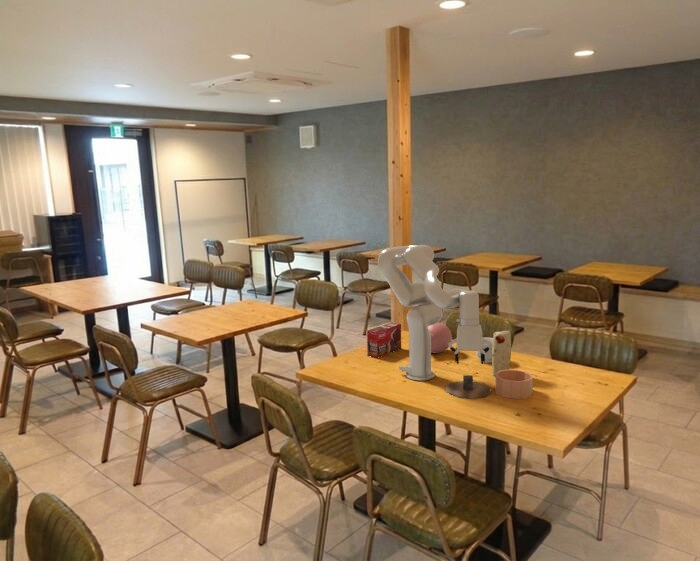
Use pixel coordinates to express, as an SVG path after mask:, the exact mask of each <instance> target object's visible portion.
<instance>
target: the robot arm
mask: <svg viewBox="0 0 700 561" xmlns="http://www.w3.org/2000/svg"><path fill="white" fill-rule="evenodd" d="M434 258H435V251H434V250H433V248H432V247H431V246H430V245H427V244H419V245H417V244H416V245H415V244H414V245H400V246H395V247H393V246H392V247H388V248H385V249H384V250H382V251H381V252H380V253H379V254H378V258H377V266H378V270H379V272H380V274H381V275H382V276H383V278H384V279H385V281H386V282H387V284H389V286H390V288H391V290H392V292H393V294H394V295H395V297H396V299H397V300H398V302H399V304H401V305H402V306H403V307H412V308H410V309H409V310H408V312H407V313H406V323H407V326H408V327H407V329H408V347H409V348H408V356H409V358H408V359H409V360H408V361H409V362H408V365H399V368H398V370H399V371H401V372H406V373H405V377H406V378H407V379H410V380H413V381H421V382H423V381H428V380H431V379H434V377H435V375H436V374H435V372H434V371H432V352H431V335H430V332H429V330H428V326H429V325H432V324H435V323H438V322H439V323H440V322H441V321H442V318H443V316H444V314H443V310H450V309H453V308H457V307H459V318H456V319H455V322H456V323H459V324H458V325H457V329H456V338H454V339H452V341H450V342H448V346H449V347H448V349H449V350H450V351H452V353H454V362H456V365H458V364H459V361H460V359H459V358H460V356H459V352H460V351H464V352H465V351H466V352H467V351H471V352H472V351H475V352H476V351H478V350H480V351H481V361H480V364H481V365H484V362H483V361H485V354H486V352H487V351H488V350H489V349H490V347H491V345H492V343H491V342H489V341H487V340H485V339H483V328H482V325H481V324H480V311H479V310H480V309H479V308H480V307H479V306H480V305H479V304H480V303H479V302H480V301H479V300H480V299H479V298H480V297H479V292H478V291H476V290H471V289H470V290H467V289H464V288H463V289H462V288H459V287H454V288H451V289H445V290H444V289H443V288H442V287H441V286H440V284H438V282H437V280H436V277H438V275H439V272H440V268H439V266H438V265H437V264H436V263H435V262H434V261H433V260H434ZM404 265H408V267H410V268H411V270H413V272H414V273H415V274H416V275H417V276H418V277H419V278H420V279H421V280H422V281H423V282H415V283H412V282H411V281H410V279H409V278H408V276H407V275H406V274H405V272H403V271H402V270H401V269H400V268H398V267H399V266H404ZM483 343H485V344H487V347H486V348H485V349H483ZM454 344H456V347H455V348H454V347H453V345H454Z"/></svg>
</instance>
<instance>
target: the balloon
mask: <svg viewBox="0 0 700 561" xmlns="http://www.w3.org/2000/svg"><path fill="white" fill-rule="evenodd" d="M428 330H429V332H430V335H431V354H432V353H433V354H440V353H443V352H445V351H446V350H448V349H449V346H448V342H450V341H452V340H453V334H452V331H451V330H450V328H449V327H448V325H446V324H444V323H442V322H440V321H439V322H438V323H435V324H432V325H429V326H428Z"/></svg>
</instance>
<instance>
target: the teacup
mask: <svg viewBox="0 0 700 561" xmlns="http://www.w3.org/2000/svg"><path fill="white" fill-rule="evenodd" d="M482 337H483V336H482ZM483 339H485V340H487V341H489V342H491V343H492V345H491V347H490V349H489V350H488V351H487V352H486V354H485V361H483V363H484V362H485V363H487V364H489V363H492V347H493V337H487V336H486V337H483ZM486 347H487V344H485V343H483V349H485V348H486ZM475 353H476V356H477V358H479V361H480V362H481V351H480V350H478V351H475Z"/></svg>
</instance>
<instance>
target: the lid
mask: <svg viewBox="0 0 700 561" xmlns="http://www.w3.org/2000/svg"><path fill="white" fill-rule="evenodd" d="M491 390H492V389H491V388H490V387H489V386H488V385H486V384H484V383H481V382H476V381H474V376H473V375H466V374H465V375H463V379H462V381H461V380H459V381H458V380H457V381H453V382H450V383H447V385H445V392H446V391H447V392H446V393H447V394H448V393H449V394H448V395H449V396H452V395H453V397H455V398H459V399H465V398H466V400H467V399H468V400H476V399H477V398H478V399H483V398H486V397H488V396H490V395H491Z"/></svg>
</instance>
